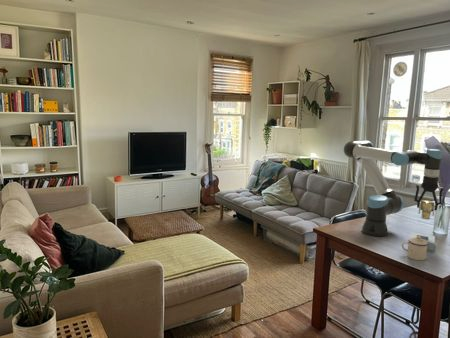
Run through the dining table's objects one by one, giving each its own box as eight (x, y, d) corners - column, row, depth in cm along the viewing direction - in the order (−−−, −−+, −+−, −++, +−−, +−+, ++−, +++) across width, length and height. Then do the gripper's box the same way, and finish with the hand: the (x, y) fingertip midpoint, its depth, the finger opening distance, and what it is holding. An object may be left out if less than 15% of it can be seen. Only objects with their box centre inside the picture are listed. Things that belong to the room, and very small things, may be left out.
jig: (433, 250, 186) (434, 243, 186) (409, 245, 193) (409, 238, 192) (433, 243, 196) (434, 236, 196) (410, 239, 203) (411, 232, 202)
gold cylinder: (424, 220, 194) (426, 203, 192) (416, 216, 200) (418, 200, 198) (434, 219, 195) (436, 203, 193) (426, 216, 201) (428, 200, 199)
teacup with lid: (426, 255, 180) (428, 235, 178) (426, 262, 173) (428, 241, 170) (401, 250, 186) (403, 231, 184) (400, 257, 179) (402, 236, 176)
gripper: (411, 175, 195) (407, 212, 199) (451, 179, 184) (445, 219, 189) (412, 173, 201) (408, 209, 205) (451, 177, 191) (445, 215, 195)
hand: (426, 214), depth 197 cm, fingers closed on gold cylinder, 6 cm apart
